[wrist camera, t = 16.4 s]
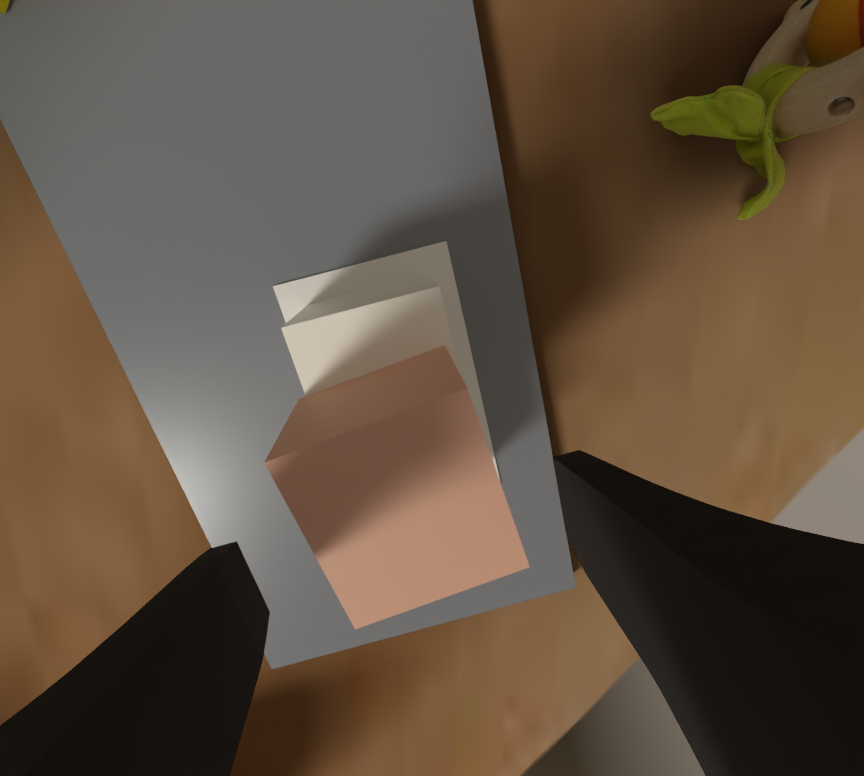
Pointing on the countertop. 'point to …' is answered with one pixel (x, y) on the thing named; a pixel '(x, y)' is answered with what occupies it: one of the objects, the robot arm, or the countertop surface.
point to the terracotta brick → (396, 488)
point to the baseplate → (281, 243)
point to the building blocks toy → (4, 5)
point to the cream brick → (366, 332)
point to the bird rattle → (784, 91)
